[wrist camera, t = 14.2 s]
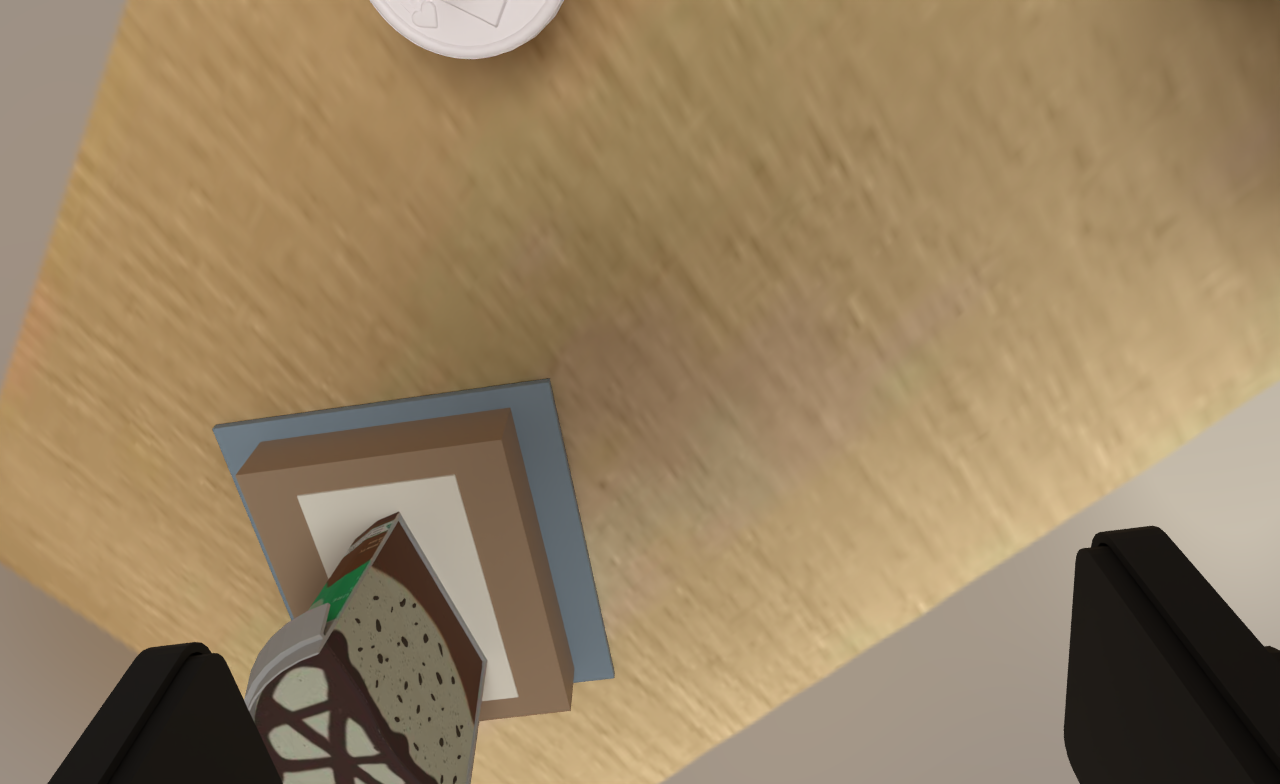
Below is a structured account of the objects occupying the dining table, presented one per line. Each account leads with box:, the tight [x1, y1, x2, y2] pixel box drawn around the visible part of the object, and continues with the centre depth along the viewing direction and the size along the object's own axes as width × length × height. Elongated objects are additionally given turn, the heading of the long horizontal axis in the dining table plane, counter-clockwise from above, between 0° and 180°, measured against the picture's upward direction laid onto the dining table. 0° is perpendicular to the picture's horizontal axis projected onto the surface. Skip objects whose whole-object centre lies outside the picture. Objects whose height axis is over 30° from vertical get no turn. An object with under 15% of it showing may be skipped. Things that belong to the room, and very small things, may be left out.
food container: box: [244, 512, 488, 784], centre depth 39 cm, size 12×6×10 cm, turn 21°
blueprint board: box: [213, 378, 615, 721], centre depth 45 cm, size 16×18×4 cm
